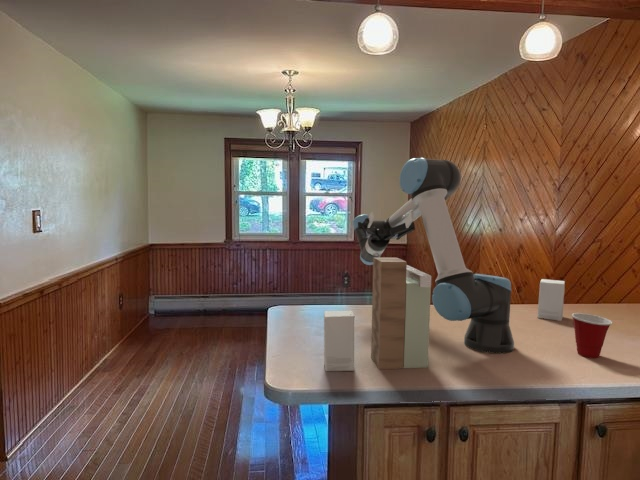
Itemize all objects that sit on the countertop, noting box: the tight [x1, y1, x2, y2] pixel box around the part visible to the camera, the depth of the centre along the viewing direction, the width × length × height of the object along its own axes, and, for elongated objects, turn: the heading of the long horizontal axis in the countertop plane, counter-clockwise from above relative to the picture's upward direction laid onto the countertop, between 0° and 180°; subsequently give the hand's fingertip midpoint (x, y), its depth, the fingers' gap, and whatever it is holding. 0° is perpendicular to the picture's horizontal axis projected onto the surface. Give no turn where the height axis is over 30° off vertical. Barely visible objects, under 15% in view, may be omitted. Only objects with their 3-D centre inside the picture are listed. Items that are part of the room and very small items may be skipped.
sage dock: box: [402, 280, 432, 369], centre depth 129 cm, size 9×7×24 cm
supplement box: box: [537, 278, 566, 322], centre depth 183 cm, size 9×9×15 cm
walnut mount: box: [370, 257, 408, 370], centre depth 128 cm, size 9×7×30 cm
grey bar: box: [406, 264, 432, 288], centre depth 130 cm, size 24×3×3 cm, turn 8°
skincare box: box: [323, 310, 355, 372], centre depth 125 cm, size 8×7×16 cm
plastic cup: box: [571, 312, 613, 359], centre depth 138 cm, size 11×11×12 cm
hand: (392, 215), depth 149 cm, fingers open, 13 cm apart
